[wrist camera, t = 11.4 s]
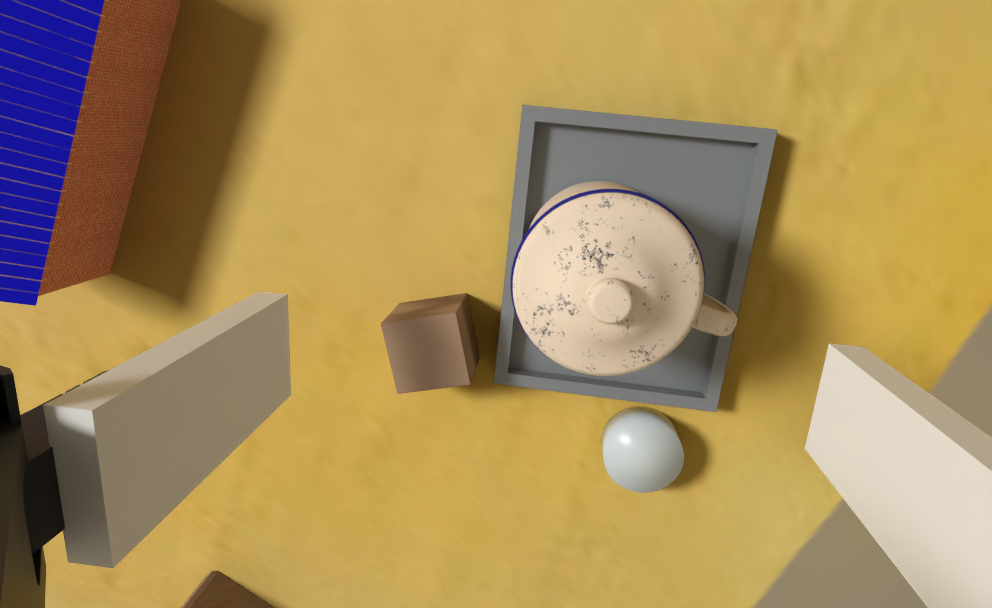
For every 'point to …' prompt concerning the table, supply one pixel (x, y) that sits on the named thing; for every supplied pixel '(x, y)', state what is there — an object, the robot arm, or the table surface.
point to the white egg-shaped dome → (642, 449)
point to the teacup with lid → (611, 281)
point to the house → (72, 133)
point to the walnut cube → (431, 343)
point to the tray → (673, 182)
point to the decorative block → (222, 594)
